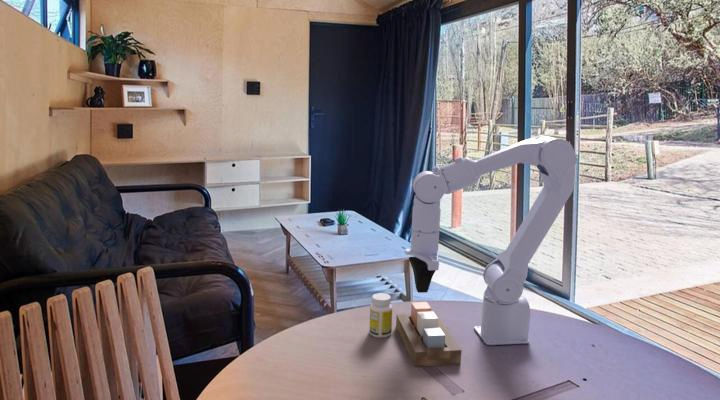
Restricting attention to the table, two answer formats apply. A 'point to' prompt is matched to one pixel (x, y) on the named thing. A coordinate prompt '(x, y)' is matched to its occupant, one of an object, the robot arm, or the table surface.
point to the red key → (418, 310)
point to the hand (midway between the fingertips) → (421, 291)
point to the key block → (418, 350)
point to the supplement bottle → (381, 315)
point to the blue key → (433, 338)
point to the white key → (426, 321)
